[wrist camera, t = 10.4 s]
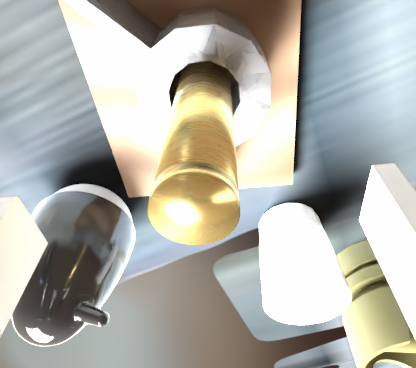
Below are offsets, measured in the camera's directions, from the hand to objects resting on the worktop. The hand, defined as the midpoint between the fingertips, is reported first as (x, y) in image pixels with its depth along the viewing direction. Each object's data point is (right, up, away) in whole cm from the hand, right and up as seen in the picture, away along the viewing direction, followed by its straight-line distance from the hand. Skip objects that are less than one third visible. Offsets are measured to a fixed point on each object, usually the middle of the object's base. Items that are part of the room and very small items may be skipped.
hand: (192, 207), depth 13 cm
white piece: (-1, +8, +14) cm, 16 cm away
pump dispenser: (-12, -1, +24) cm, 27 cm away
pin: (0, +10, +13) cm, 16 cm away
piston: (+22, -10, +30) cm, 38 cm away
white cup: (+10, -3, +25) cm, 27 cm away
